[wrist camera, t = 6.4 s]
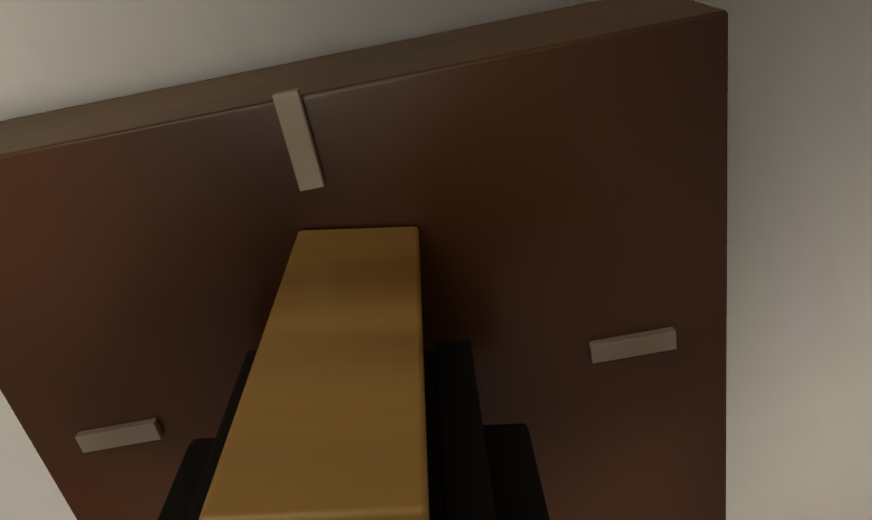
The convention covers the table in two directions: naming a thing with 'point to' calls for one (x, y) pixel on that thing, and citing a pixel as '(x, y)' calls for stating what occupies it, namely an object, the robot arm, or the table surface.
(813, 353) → the table surface
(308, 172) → the plate
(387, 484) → the handle
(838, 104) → the table surface
